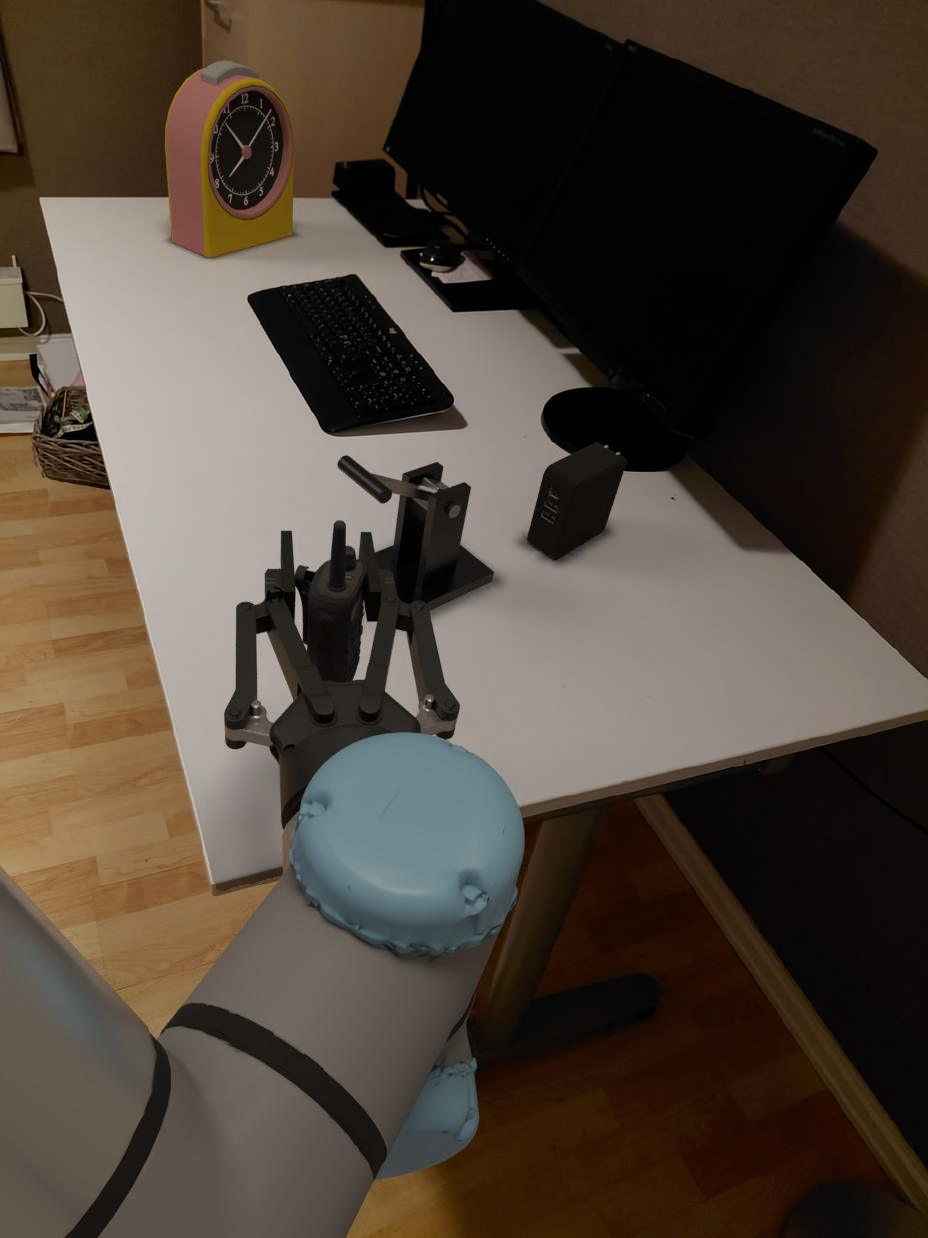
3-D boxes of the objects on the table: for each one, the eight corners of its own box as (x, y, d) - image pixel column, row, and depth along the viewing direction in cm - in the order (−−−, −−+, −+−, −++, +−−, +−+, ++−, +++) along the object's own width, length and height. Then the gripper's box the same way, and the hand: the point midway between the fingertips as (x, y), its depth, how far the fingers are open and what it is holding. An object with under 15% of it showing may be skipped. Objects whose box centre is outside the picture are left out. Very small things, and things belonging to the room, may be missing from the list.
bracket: (404, 622, 82) (418, 523, 74) (348, 571, 86) (357, 473, 78) (492, 580, 89) (514, 486, 81) (437, 535, 93) (452, 442, 85)
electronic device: (525, 542, 95) (544, 466, 88) (577, 512, 101) (599, 439, 94) (553, 561, 93) (575, 485, 86) (605, 530, 99) (629, 456, 92)
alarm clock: (208, 258, 140) (200, 73, 123) (169, 240, 143) (156, 58, 126) (294, 234, 154) (297, 66, 137) (257, 219, 157) (255, 52, 140)
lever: (373, 507, 71) (386, 482, 70) (332, 472, 74) (344, 448, 73) (457, 524, 81) (469, 502, 80) (417, 493, 84) (429, 471, 83)
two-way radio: (343, 711, 60) (354, 542, 50) (282, 697, 60) (281, 525, 50) (364, 658, 64) (378, 492, 54) (307, 645, 64) (311, 477, 54)
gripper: (178, 877, 44) (197, 586, 61) (506, 851, 48) (440, 586, 65) (167, 790, 39) (191, 499, 56) (534, 770, 43) (455, 505, 60)
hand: (325, 546), depth 60 cm, fingers closed on two-way radio, 5 cm apart
